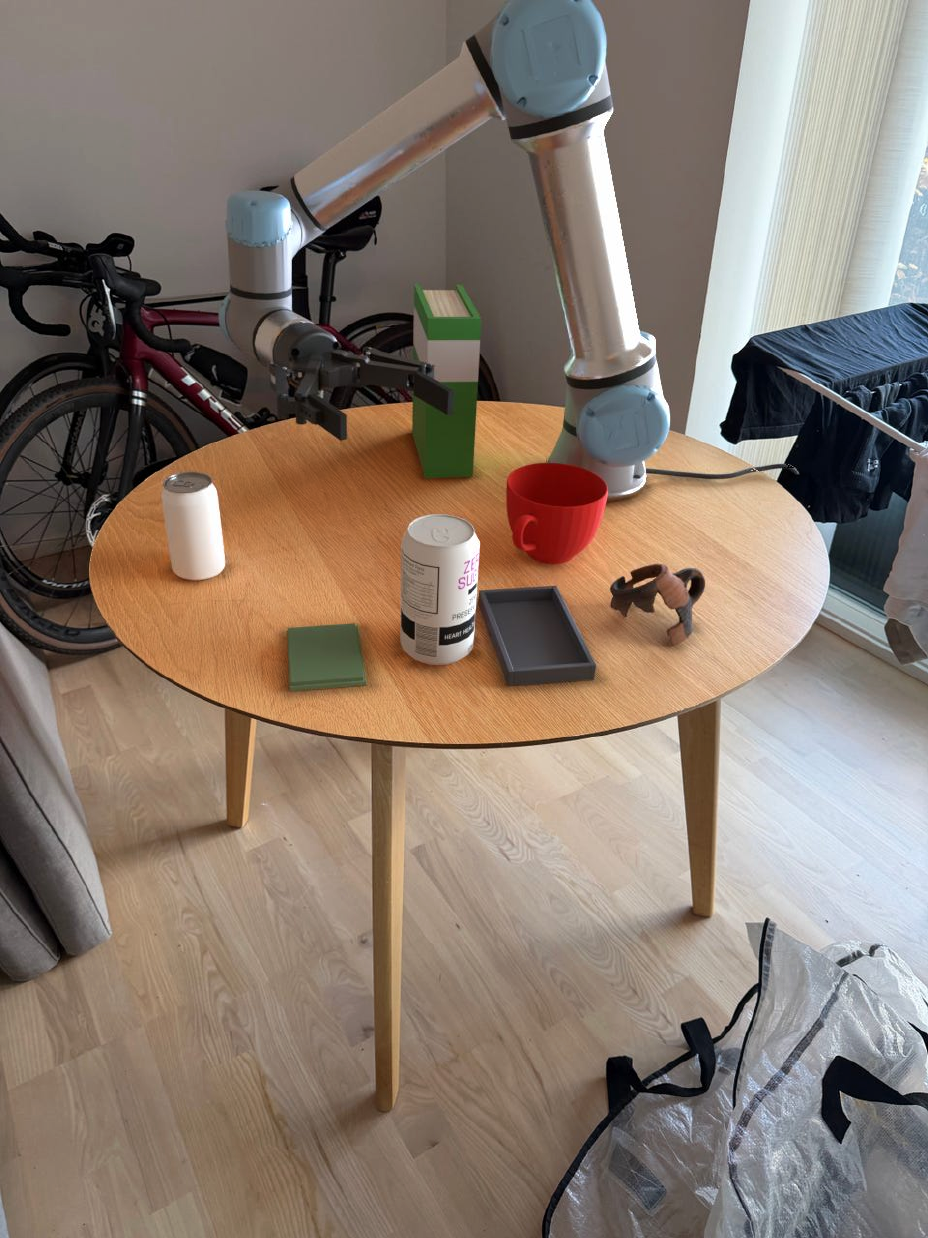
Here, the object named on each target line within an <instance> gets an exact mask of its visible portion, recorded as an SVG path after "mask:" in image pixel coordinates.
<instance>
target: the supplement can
mask: <svg viewBox="0 0 928 1238" xmlns="http://www.w3.org/2000/svg"><path fill="white" fill-rule="evenodd" d="M480 548H481V541H480V539H479V538H478V536H477V534H476V529H475V528H474V525H473V524H472V523H471V522H470V521H468V520H467V519H465V518H462V517H460V516H457V515H452V514H446V513H432V514H426V515H425V514H424V515H422V516H419V517H417V518H415V519H412V521H411V522H410V523H408V526H407V530H405V532H404V534H403V536H402V539H401V542H400V634H399V635H400V639H399V640H400V641H399V642H400V645H401V647H402V648H401V649H402V650H403V651H404V652H405V653H406V654H407V655H408V656H409V657H411V658H412V659H413V660H415V661H418V662H419V663H422V664H425V665H430V666H446V665H451V664H455V663H457V662H458V661H460V660H462V659H464V658H465V657H467V656H468V655H469V654H470V653H471V651H472V650H473V648H474V642H475V625H476V611H477V598H478V597H477V595H478V581H479V564H480Z"/></svg>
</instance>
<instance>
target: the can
mask: <svg viewBox="0 0 928 1238" xmlns="http://www.w3.org/2000/svg"><path fill="white" fill-rule="evenodd" d="M162 486H163V487H162V491H161V506H162V513H163V518H164V519H163V520H164V525H165V532H166V538H167V545H168V551H169V557H170V558H169V559H170V562H171V568H172V571H173V573H174V574H175V575H176V576H177V577H178V578H179V579H180V578H181V579H182V580H185V581H189V582H202V581H206V580H211V579H213V578H216V577H217V576H219V575H220V574H221V573H222V572H223V571H224V570H225V567H226V555H225V547H224V537H223V529H222V528H223V527H222V519H221V512H220V503H219V496H218V495H219V494H218V491H217V488H216V486H215V485H214V484H213V478H212V477H211V476H210V474H207V473H205V472H200V471H182V472H176V473H174V474H170V475H169V476H167V477H165V479H163V481H162Z"/></svg>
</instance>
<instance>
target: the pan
mask: <svg viewBox="0 0 928 1238" xmlns="http://www.w3.org/2000/svg"><path fill="white" fill-rule="evenodd" d="M477 605H478V609H479V611H480V614H481V617H482V619H483V623H484V625H485V628H486V630H487V633H488V635H489V638H490V642H491V644H492V647H493V650H494V653H495V655H496V658H497V661H498V664H499V667H500V669H501V672H502V675H503V678H504V680H505V683H506V686H507V687H508V688H509V687H519V686H521V687H522V686H533V685H534V686H535V685H545V684H557V683H558V684H559V683H570V682H571V683H572V682H582V681H594V680H595V677H596V670H597V663H596V662H595V659H594V658H593V656H592V655H593V654H592V653H591V651H590V650H589V647H588V645H587V644H586V641H585V639H584V638H583V636H582V634H581V631H580V629H579V628H578V626H577V624H576V622H575V619H574V617H573V616H572V614H571V612H570V610H569V608H568V606H567V603H566V601H565V600H564V598H563V595H562V594H561V592H560V590H559V587H558V586H557V585H544V586H542V585H541V586H528V587H526V586H525V587H511V588H497V589H495V588H494V589H480V590H478V597H477Z"/></svg>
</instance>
